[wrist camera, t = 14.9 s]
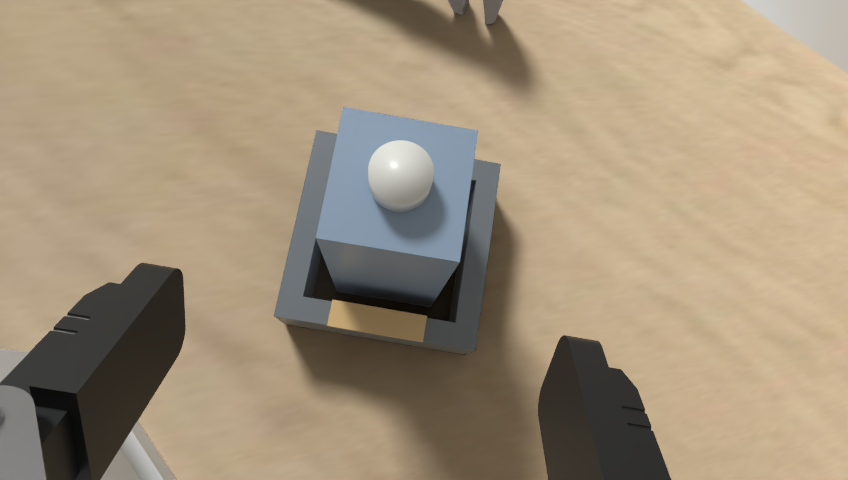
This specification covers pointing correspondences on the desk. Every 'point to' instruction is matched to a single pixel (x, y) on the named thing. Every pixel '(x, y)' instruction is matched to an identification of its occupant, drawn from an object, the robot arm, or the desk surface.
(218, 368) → the desk surface
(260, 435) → the desk surface
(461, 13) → the caliper
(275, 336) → the desk surface
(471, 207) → the pocket plate
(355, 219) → the blue gray block
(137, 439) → the security camera
